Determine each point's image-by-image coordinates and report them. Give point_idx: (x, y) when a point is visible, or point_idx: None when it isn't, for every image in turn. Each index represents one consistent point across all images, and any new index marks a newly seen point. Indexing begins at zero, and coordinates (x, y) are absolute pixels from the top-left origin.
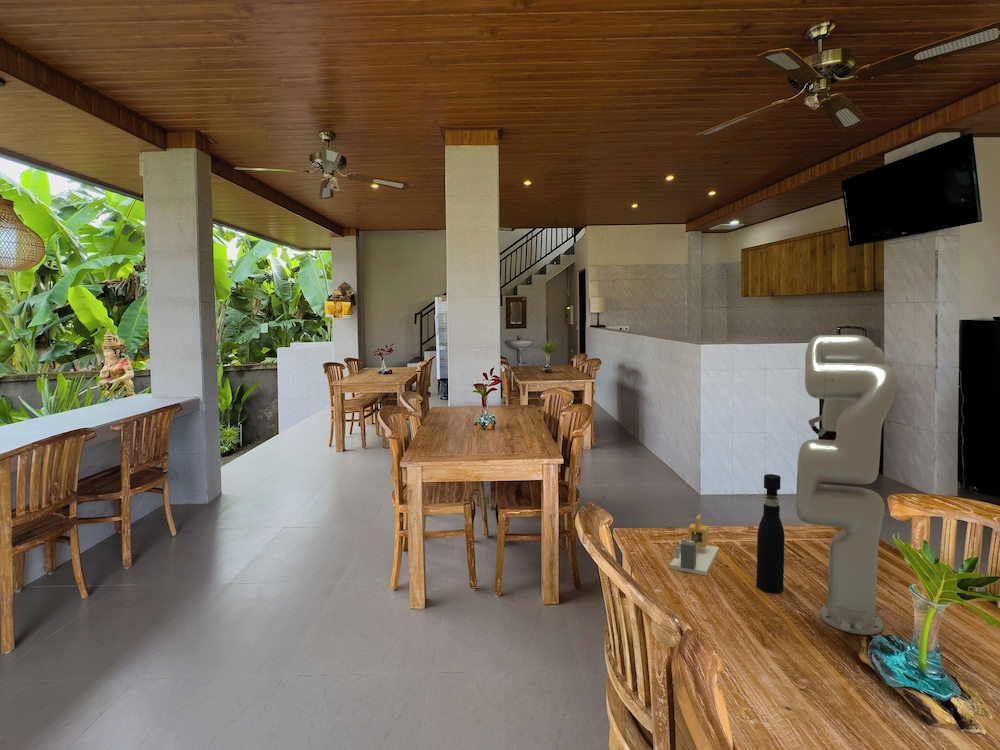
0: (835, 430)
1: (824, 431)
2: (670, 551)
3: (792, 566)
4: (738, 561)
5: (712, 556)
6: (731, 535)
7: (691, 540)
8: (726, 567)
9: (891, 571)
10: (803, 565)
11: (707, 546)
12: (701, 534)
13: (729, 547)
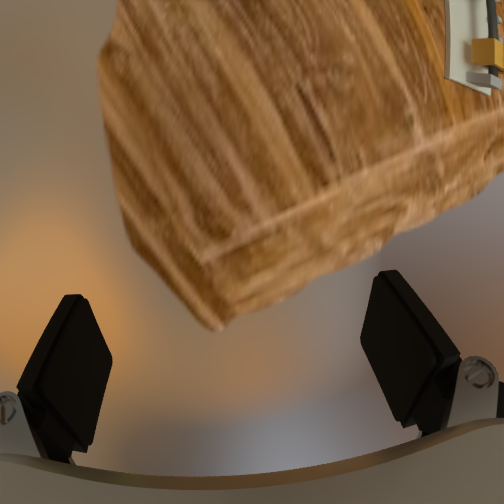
0: (377, 464)
1: (463, 418)
2: None
3: (318, 30)
4: (412, 32)
5: (452, 30)
6: (425, 174)
7: (496, 16)
8: (424, 3)
9: (121, 95)
10: (296, 43)
11: (464, 77)
12: None
13: (430, 102)
